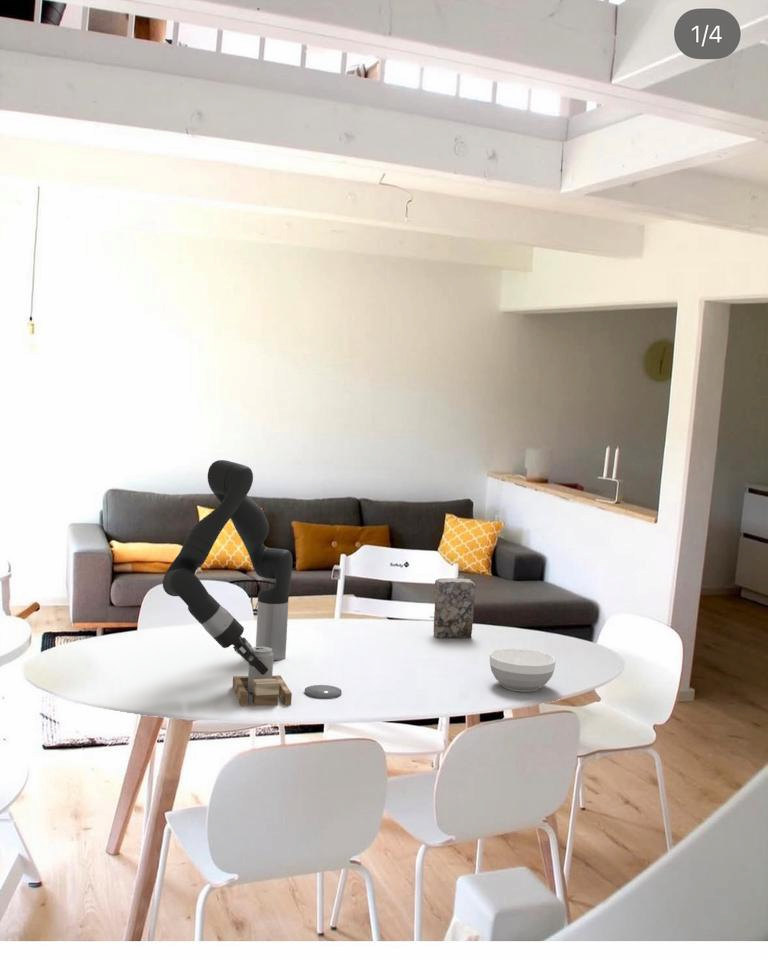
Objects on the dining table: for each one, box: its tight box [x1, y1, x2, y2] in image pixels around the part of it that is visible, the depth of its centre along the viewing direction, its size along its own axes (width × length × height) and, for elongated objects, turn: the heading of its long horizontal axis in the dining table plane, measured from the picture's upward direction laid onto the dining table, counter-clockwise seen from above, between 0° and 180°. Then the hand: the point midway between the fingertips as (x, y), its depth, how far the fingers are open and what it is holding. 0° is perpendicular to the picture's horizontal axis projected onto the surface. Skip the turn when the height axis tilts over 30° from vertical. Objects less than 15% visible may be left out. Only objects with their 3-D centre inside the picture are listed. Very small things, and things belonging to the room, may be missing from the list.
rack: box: [232, 674, 293, 707], centre depth 271 cm, size 17×13×3 cm
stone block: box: [433, 577, 477, 639], centre depth 351 cm, size 13×7×20 cm, turn 109°
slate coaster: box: [304, 684, 343, 700], centre depth 277 cm, size 10×10×1 cm
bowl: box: [489, 648, 557, 693], centre depth 294 cm, size 19×19×9 cm
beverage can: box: [247, 646, 274, 695], centre depth 273 cm, size 6×6×12 cm
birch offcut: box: [253, 679, 279, 695], centre depth 265 cm, size 4×6×3 cm, turn 110°
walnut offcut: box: [252, 692, 279, 707], centre depth 265 cm, size 4×6×3 cm, turn 105°
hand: (263, 668), depth 274 cm, fingers open, 8 cm apart
